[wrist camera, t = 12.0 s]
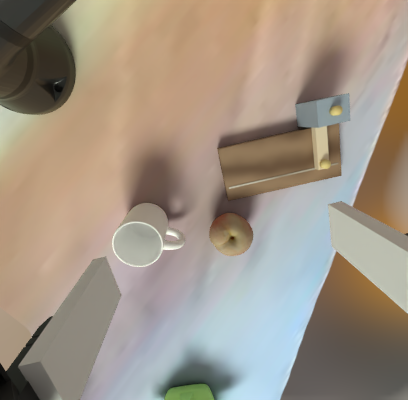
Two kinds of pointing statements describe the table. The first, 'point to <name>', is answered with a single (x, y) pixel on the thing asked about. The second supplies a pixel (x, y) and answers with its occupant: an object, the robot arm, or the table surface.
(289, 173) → the board
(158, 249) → the mug
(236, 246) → the fruit
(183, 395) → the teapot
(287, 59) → the table surface
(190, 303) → the table surface
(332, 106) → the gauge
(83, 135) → the table surface
